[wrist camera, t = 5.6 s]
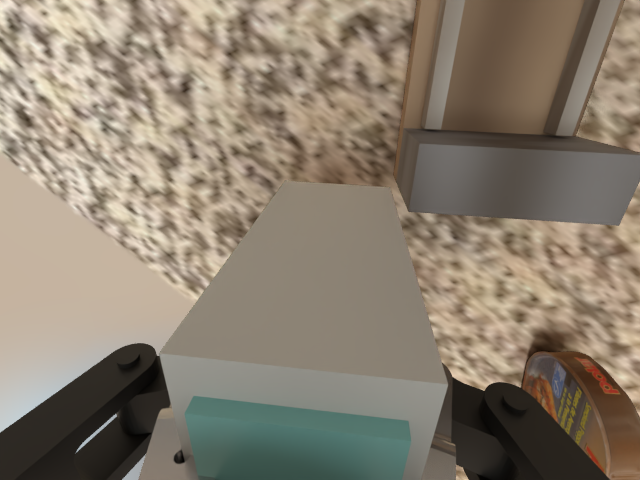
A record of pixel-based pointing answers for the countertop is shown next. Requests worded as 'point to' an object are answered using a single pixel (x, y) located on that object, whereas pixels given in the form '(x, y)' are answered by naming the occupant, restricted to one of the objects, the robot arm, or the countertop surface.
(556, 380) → the tin
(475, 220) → the countertop surface
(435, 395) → the block
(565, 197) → the rack
